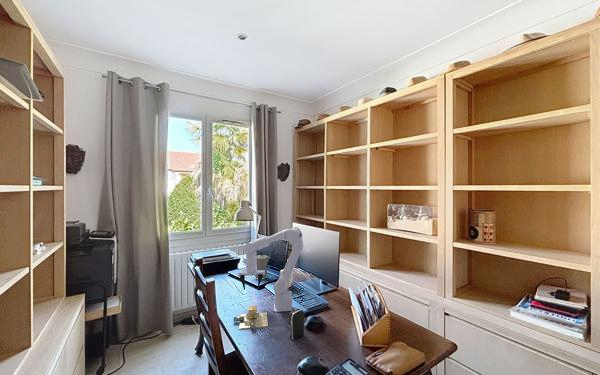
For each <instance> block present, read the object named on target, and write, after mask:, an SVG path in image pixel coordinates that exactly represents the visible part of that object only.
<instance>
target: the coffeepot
mask: <svg viewBox="0 0 600 375" xmlns="http://www.w3.org/2000/svg"><path fill="white" fill-rule="evenodd" d="M271 258H272V257H271V256H268V255H265V254H263V252H259V255H257V270H261V271H264V270H265V275H263V278H266V277H267V276H268V270H267V265H268V262H269V260H270V259H271ZM255 277H256V278H258V275H254V278H255ZM268 277H269V276H268ZM256 278H255V279H256Z"/></svg>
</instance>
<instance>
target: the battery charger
mask: <svg viewBox="0 0 600 375" xmlns="http://www.w3.org/2000/svg"><path fill="white" fill-rule="evenodd" d="M288 325H289V326H290V335H289V338H290V339H291V340H292V341H295V340H297V339H299V338H300V337H302V336H304V335H305V311H304V310H303V309H301V308H296V309H292V311H290V312H289V313H288Z"/></svg>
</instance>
